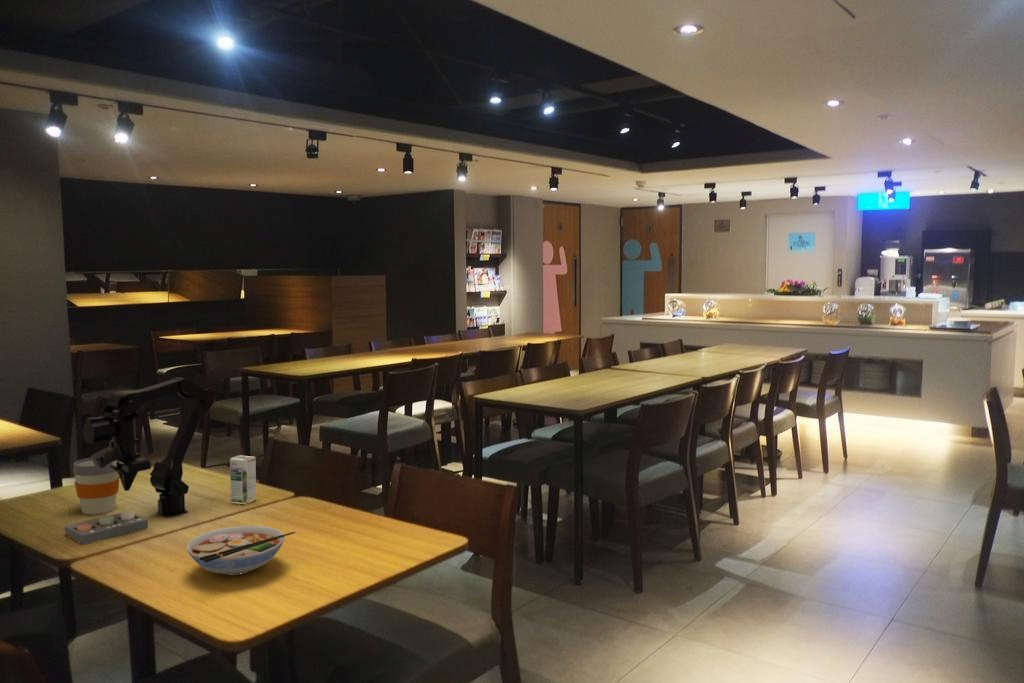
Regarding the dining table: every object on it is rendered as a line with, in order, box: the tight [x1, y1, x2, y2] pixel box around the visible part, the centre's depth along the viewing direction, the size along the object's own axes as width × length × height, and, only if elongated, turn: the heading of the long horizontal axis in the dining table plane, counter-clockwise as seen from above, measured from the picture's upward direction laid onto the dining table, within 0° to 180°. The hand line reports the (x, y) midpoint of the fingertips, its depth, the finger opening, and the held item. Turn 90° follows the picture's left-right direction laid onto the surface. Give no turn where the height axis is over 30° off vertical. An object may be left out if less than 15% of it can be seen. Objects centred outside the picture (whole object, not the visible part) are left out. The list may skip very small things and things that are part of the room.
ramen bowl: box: [185, 524, 296, 575], centre depth 189 cm, size 25×23×8 cm
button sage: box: [98, 515, 114, 527], centre depth 215 cm, size 4×4×3 cm
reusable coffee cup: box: [72, 457, 120, 515], centre depth 234 cm, size 13×13×15 cm
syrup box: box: [229, 454, 257, 503], centre depth 243 cm, size 6×6×14 cm
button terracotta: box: [77, 524, 92, 532], centre depth 211 cm, size 4×4×3 cm
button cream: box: [120, 510, 136, 521], centre depth 220 cm, size 4×4×3 cm
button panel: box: [64, 512, 149, 545], centre depth 215 cm, size 17×12×3 cm
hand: (126, 490), depth 219 cm, fingers closed
